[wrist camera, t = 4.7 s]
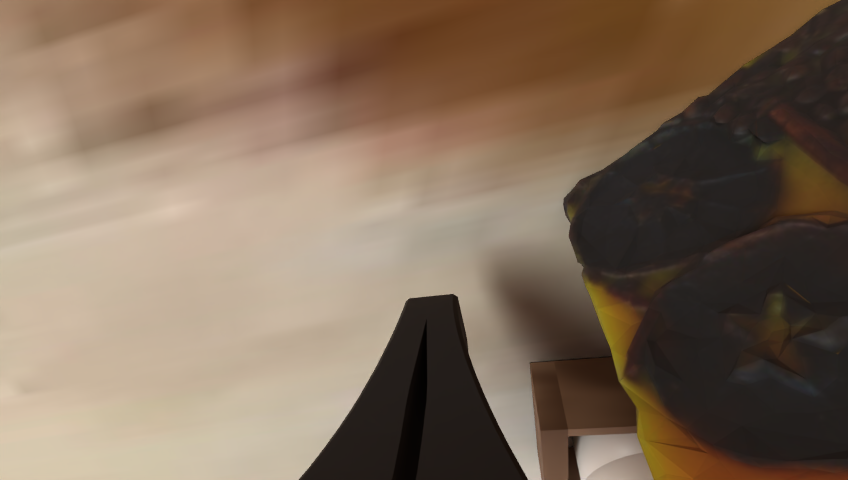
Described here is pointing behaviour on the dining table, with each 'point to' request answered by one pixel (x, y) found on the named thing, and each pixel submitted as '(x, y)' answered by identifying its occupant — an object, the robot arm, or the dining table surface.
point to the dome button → (611, 457)
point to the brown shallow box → (576, 409)
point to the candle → (733, 269)
